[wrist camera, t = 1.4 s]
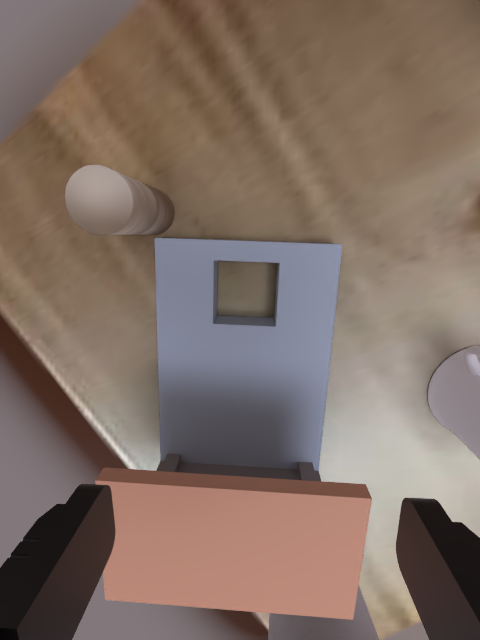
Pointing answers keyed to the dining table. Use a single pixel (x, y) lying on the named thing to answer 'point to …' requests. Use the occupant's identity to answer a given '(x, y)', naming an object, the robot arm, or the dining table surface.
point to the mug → (458, 396)
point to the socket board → (240, 447)
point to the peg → (116, 203)
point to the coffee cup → (324, 626)
